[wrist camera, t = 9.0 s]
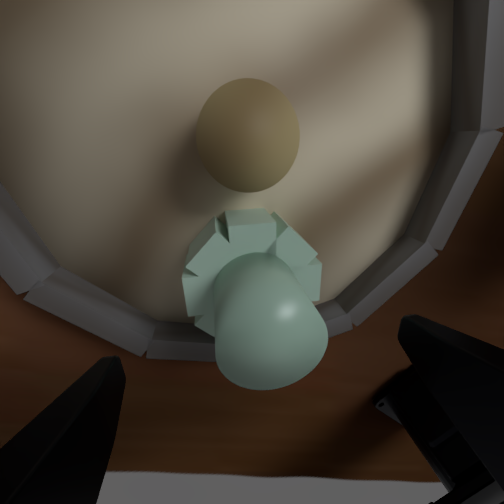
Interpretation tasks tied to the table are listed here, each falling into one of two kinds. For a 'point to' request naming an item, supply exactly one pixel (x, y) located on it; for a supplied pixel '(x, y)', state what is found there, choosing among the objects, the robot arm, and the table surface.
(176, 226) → the carrier plate
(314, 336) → the pale green domed piece
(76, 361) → the table surface
